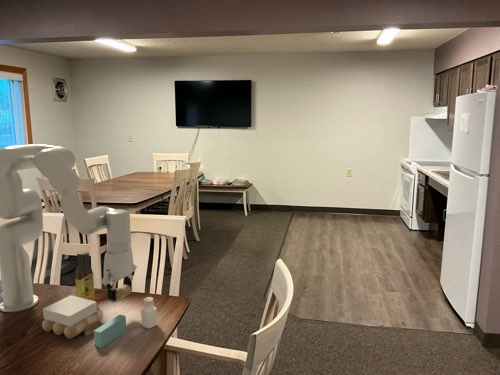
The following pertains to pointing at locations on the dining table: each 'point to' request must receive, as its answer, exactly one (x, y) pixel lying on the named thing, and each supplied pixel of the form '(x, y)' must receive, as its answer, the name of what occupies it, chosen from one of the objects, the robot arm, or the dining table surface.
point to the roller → (122, 292)
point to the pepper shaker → (148, 313)
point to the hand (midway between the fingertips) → (120, 294)
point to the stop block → (110, 330)
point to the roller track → (74, 326)
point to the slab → (70, 310)
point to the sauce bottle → (84, 277)
